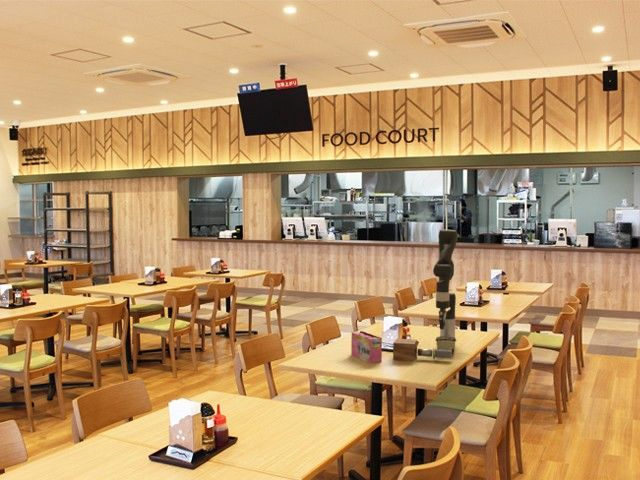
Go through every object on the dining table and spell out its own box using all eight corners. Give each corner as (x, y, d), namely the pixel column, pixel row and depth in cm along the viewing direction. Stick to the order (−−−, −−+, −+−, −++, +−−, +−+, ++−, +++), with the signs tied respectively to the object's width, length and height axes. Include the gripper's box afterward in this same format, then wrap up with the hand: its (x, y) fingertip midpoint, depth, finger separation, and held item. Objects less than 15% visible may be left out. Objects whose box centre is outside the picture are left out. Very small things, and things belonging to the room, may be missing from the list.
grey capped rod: (418, 356, 382) (418, 346, 382) (451, 358, 377) (451, 348, 376) (417, 358, 376) (417, 348, 376) (450, 360, 371) (450, 350, 371)
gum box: (349, 354, 392) (349, 331, 392) (361, 352, 396) (361, 330, 395) (370, 363, 371) (370, 339, 370) (382, 361, 374) (382, 337, 374)
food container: (455, 352, 395) (455, 336, 394) (456, 355, 389) (456, 338, 388) (434, 352, 396) (434, 335, 396) (435, 354, 390) (435, 338, 390)
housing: (396, 355, 389) (396, 338, 388) (417, 356, 385) (417, 339, 385) (393, 360, 377) (393, 342, 377) (414, 361, 374) (414, 344, 373)
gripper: (437, 297, 383) (437, 324, 385) (434, 301, 370) (434, 329, 371) (450, 297, 381) (450, 325, 383) (448, 301, 368) (448, 330, 369)
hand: (442, 327), depth 377 cm, fingers open, 8 cm apart
